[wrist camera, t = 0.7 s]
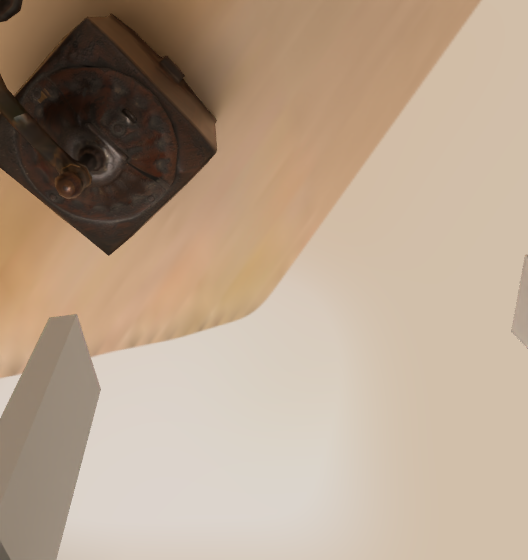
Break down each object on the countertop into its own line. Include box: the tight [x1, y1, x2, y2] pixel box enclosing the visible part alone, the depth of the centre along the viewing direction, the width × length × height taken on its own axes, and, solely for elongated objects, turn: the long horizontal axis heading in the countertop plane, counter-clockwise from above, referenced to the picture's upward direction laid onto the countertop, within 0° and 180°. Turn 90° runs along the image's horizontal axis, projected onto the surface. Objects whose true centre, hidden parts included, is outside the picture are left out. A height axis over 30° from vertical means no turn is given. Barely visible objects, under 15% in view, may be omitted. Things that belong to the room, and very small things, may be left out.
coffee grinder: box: [0, 0, 217, 256], centre depth 29 cm, size 16×11×18 cm
